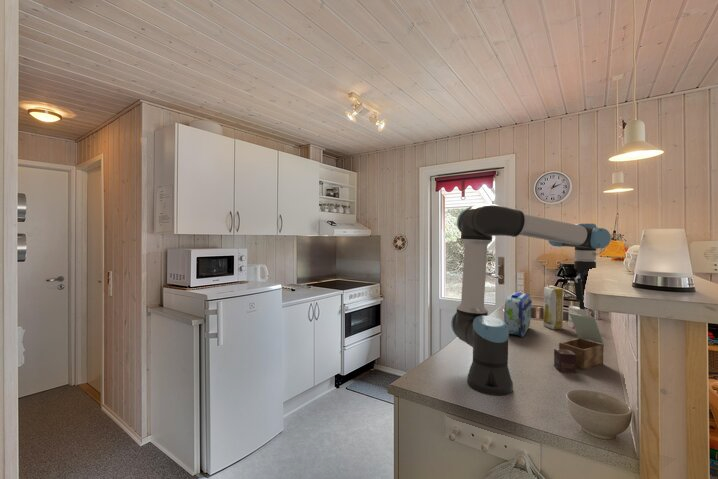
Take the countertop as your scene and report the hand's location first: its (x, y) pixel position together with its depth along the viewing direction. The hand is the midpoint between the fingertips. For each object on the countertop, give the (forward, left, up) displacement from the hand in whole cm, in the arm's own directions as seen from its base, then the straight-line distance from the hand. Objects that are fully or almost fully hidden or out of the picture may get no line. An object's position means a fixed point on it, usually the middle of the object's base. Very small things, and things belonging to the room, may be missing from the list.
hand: (583, 316), depth 140 cm
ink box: (+50, +30, -20) cm, 61 cm away
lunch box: (+14, +41, -20) cm, 47 cm away
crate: (-1, 0, -19) cm, 19 cm away
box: (-14, -1, -20) cm, 24 cm away
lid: (+2, 0, -5) cm, 6 cm away
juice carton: (+39, +37, -20) cm, 57 cm away
